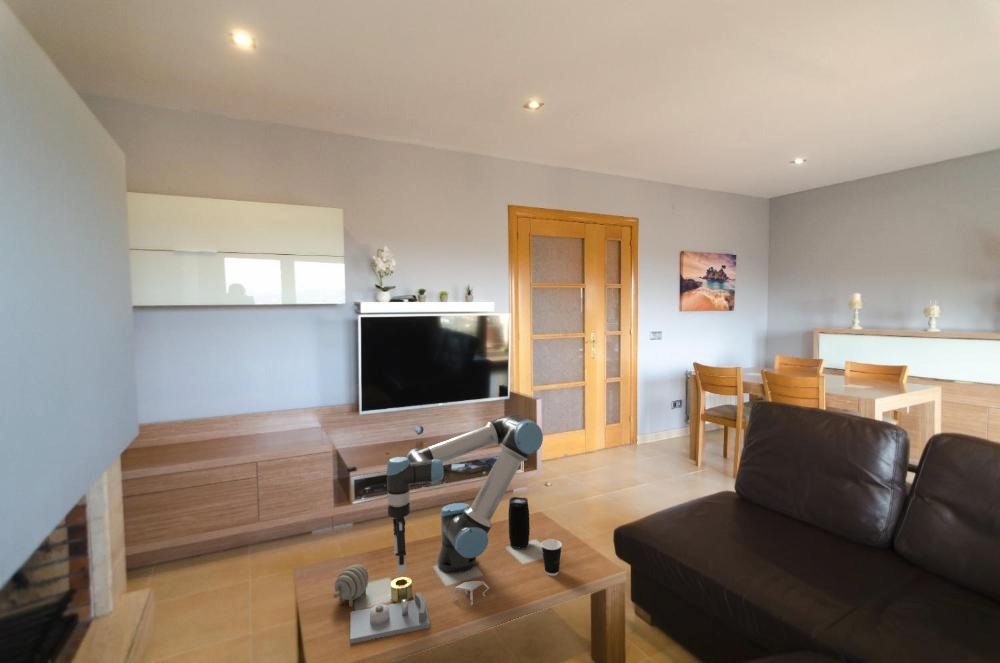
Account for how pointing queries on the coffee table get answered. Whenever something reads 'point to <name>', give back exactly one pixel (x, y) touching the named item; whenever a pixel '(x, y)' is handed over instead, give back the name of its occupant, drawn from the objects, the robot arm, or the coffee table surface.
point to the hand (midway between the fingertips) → (399, 563)
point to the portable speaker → (519, 522)
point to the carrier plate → (388, 620)
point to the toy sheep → (351, 583)
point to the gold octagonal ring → (401, 589)
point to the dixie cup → (551, 556)
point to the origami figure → (470, 588)
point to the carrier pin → (404, 607)
